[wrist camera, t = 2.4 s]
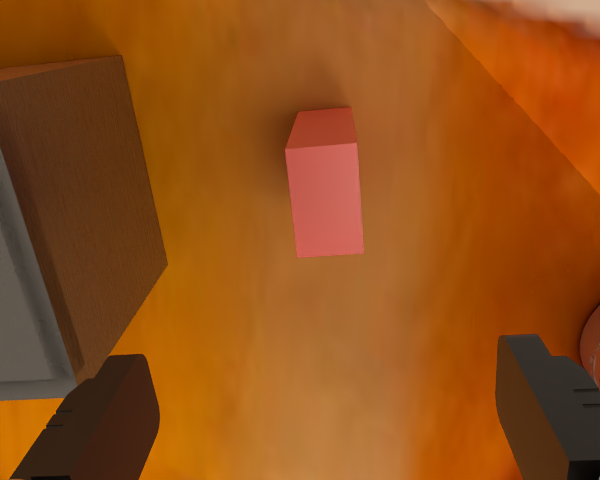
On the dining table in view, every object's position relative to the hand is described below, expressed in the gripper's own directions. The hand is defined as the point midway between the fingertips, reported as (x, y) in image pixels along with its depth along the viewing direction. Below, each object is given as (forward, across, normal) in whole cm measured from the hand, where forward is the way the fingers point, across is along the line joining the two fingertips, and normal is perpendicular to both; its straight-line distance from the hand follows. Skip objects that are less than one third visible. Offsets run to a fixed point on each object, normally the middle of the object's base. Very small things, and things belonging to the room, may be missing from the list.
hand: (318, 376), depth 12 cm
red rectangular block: (+21, 0, 0) cm, 21 cm away
